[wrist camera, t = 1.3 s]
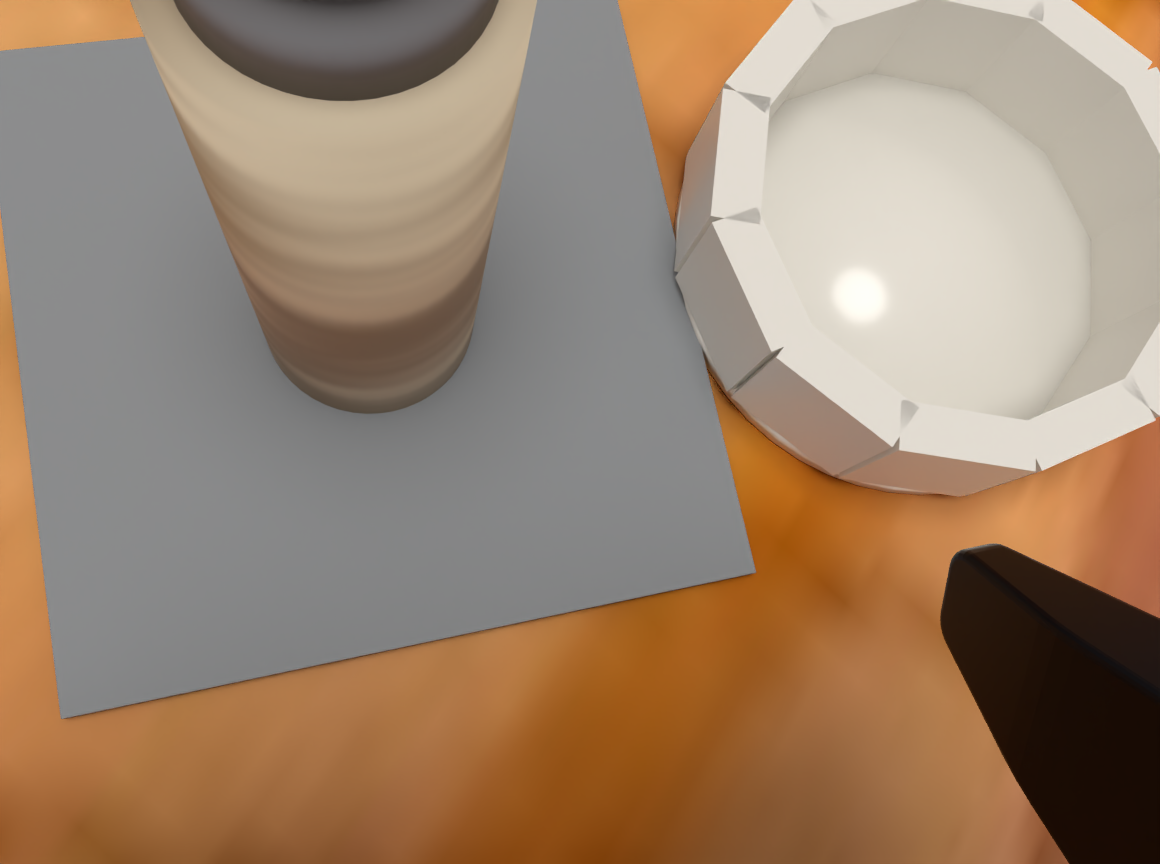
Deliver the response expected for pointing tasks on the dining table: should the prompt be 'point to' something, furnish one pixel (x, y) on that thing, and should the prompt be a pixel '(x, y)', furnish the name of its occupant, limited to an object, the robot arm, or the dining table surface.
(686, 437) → the felt mat
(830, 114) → the bowl
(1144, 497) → the dining table surface
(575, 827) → the dining table surface
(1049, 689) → the robot arm
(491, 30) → the pepper mill
